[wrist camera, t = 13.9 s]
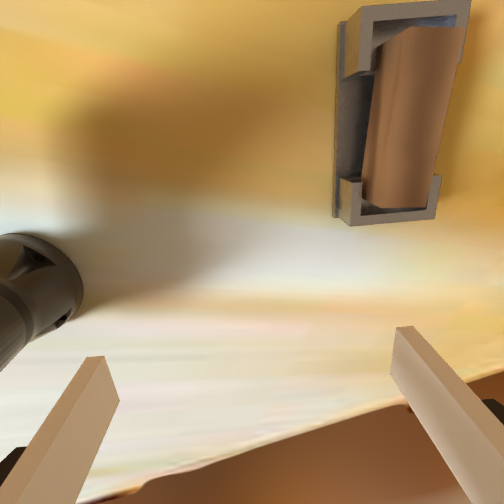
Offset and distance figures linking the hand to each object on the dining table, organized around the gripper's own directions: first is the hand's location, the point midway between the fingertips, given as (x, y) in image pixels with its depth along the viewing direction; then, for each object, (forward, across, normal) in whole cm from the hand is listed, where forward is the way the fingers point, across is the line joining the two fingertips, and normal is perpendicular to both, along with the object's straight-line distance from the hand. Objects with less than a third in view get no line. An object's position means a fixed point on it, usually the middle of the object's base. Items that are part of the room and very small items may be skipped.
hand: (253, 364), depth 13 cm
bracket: (+29, +18, +9) cm, 35 cm away
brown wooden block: (+26, +18, +9) cm, 33 cm away
